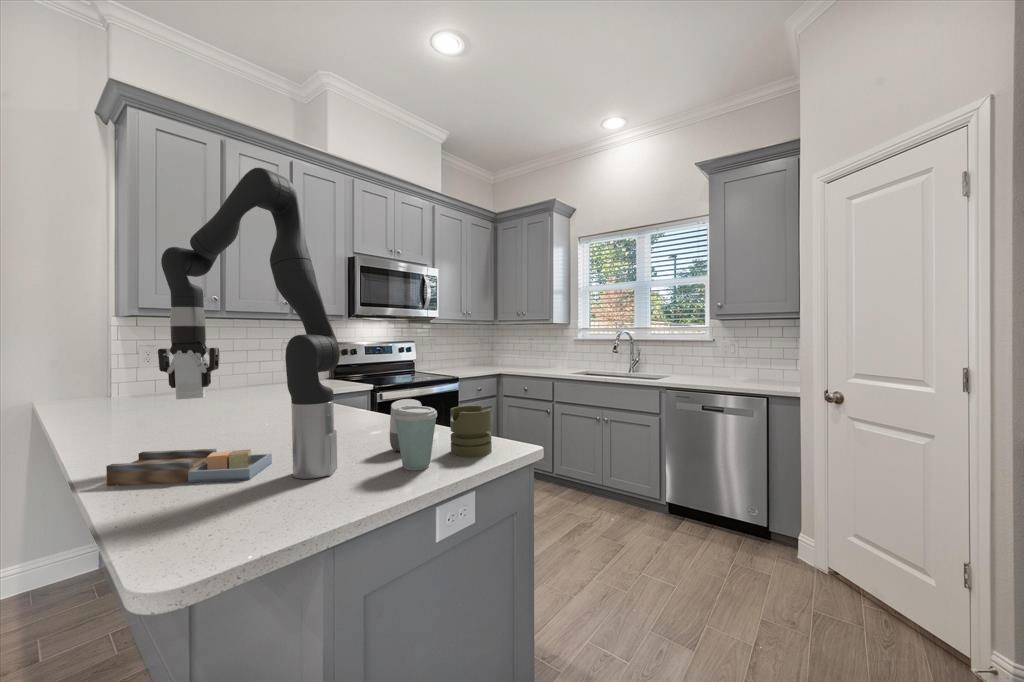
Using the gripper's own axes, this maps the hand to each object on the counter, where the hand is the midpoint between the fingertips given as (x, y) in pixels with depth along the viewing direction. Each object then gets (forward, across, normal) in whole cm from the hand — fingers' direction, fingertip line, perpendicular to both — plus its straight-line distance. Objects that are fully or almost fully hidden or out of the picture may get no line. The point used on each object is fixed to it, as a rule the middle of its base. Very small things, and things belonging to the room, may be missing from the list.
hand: (190, 387), depth 120 cm
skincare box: (+3, 0, 0) cm, 3 cm away
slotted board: (+20, -1, +13) cm, 23 cm away
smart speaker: (+20, -56, -1) cm, 59 cm away
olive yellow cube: (+17, -15, +12) cm, 26 cm away
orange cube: (+19, -13, +13) cm, 26 cm away
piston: (+20, -74, +4) cm, 77 cm away
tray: (+20, -16, +13) cm, 28 cm away
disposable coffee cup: (+20, -60, +16) cm, 65 cm away
